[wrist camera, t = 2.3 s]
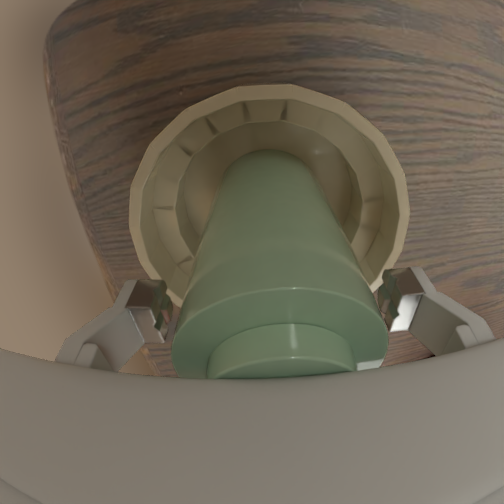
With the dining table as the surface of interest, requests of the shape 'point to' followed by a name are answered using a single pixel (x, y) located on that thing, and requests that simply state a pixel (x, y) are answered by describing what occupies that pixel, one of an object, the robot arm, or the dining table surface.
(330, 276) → the bottle
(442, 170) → the dining table surface
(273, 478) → the robot arm
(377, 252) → the bowl
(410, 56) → the dining table surface
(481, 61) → the dining table surface
